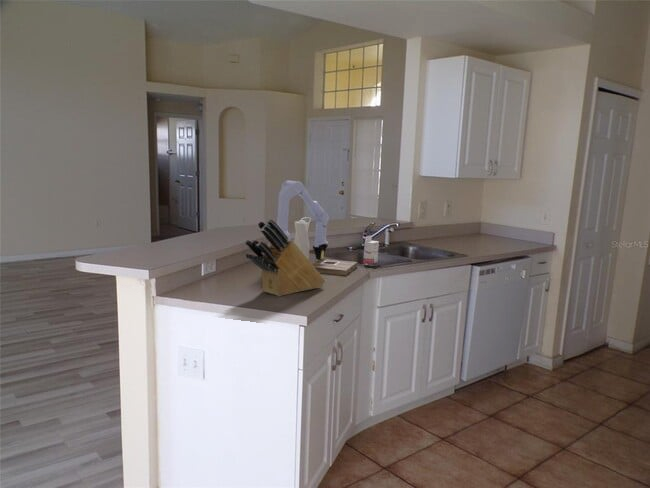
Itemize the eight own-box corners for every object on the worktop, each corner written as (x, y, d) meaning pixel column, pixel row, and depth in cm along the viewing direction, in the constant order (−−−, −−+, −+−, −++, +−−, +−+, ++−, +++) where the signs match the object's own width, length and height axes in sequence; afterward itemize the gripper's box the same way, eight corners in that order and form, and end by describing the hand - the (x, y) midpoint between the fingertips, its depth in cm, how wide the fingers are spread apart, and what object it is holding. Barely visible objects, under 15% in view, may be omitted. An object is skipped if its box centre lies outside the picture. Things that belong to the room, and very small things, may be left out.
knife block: (242, 295, 198) (242, 217, 193) (307, 282, 222) (310, 213, 217) (259, 301, 190) (260, 220, 185) (325, 287, 214) (328, 216, 209)
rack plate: (345, 275, 239) (346, 270, 239) (306, 271, 245) (306, 265, 244) (356, 267, 260) (357, 261, 259) (320, 263, 266) (320, 258, 265)
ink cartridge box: (371, 264, 268) (372, 237, 266) (363, 263, 270) (364, 236, 268) (378, 262, 275) (379, 235, 273) (369, 260, 278) (371, 234, 275)
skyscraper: (305, 274, 239) (307, 216, 234) (311, 278, 231) (313, 218, 227) (288, 275, 236) (290, 216, 231) (294, 279, 228) (295, 218, 224)
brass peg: (322, 262, 268) (322, 251, 268) (315, 261, 270) (315, 250, 269) (324, 261, 272) (324, 250, 271) (317, 260, 273) (318, 249, 272)
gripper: (323, 235, 260) (322, 261, 263) (331, 232, 274) (330, 256, 276) (311, 234, 263) (310, 260, 265) (319, 231, 276) (318, 255, 278)
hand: (320, 258), depth 271 cm, fingers open, 6 cm apart
